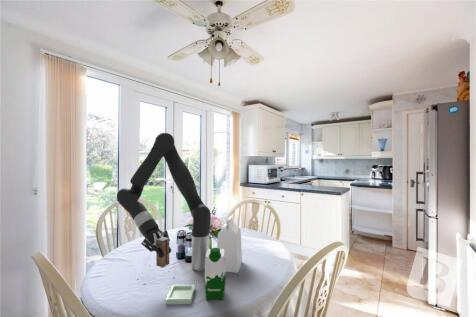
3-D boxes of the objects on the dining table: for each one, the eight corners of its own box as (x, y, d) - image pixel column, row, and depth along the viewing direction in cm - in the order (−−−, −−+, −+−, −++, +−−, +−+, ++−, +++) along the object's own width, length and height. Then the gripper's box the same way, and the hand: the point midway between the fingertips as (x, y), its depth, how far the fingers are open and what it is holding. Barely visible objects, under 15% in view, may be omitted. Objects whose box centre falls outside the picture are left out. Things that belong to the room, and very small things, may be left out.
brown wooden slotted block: (162, 262, 98) (162, 236, 98) (169, 263, 96) (169, 238, 96) (156, 265, 94) (156, 239, 94) (163, 267, 93) (163, 240, 93)
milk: (237, 272, 110) (238, 221, 111) (216, 270, 113) (216, 220, 113) (242, 261, 122) (242, 215, 122) (222, 259, 124) (222, 214, 125)
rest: (194, 289, 96) (194, 284, 96) (190, 303, 86) (190, 298, 86) (172, 289, 96) (172, 284, 96) (165, 304, 86) (165, 299, 86)
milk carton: (203, 301, 88) (203, 252, 88) (206, 288, 97) (206, 243, 97) (225, 301, 88) (225, 251, 88) (225, 288, 97) (226, 243, 97)
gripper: (137, 222, 92) (158, 256, 87) (161, 214, 105) (182, 243, 100) (128, 233, 94) (149, 266, 89) (153, 224, 107) (173, 253, 102)
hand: (166, 254), depth 94 cm, fingers closed on brown wooden slotted block, 3 cm apart
